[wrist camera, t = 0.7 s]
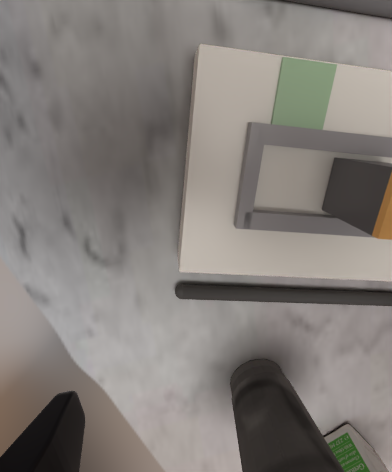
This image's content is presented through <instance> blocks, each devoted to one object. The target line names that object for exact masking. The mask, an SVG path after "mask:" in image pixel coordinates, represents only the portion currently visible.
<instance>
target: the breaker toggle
mask: <svg viewBox="0 0 392 472" xmlns="http://www.w3.org/2000/svg"><path fill="white" fill-rule="evenodd" d="M322 210H323V211H325V212H327V213H329V214H331V215H333V216H334V217H336V218H338V219H340V220H342V221H344V222H346V223H348V224H350V225H352V226H354V227H356V228H358V229H360V230H362V231H364V232H365V233H367V234H369V235H371V236H373V237H375V238H377V239H388V240H392V163H385V162H376V161H366V160H356V159H346V158H336V157H335V158H334V162H333V166H332V170H331V174H330V178H329V182H328V186H327V190H326V194H325V198H324V202H323V206H322Z"/></svg>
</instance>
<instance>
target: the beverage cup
mask: <svg viewBox="0 0 392 472" xmlns="http://www.w3.org/2000/svg"><path fill="white" fill-rule="evenodd" d="M230 385H231V391H232V404H233V411H234V418H235V424H236V431H237V438H238V444H239V451H240V457H241V464H242V471H243V472H345V471H344V470H343V468H342V466H341V465H340V463H339V462H338V460H337V458H336V457H335V455H334V453H333V452H332V450H331V448H330V447H329V445H328V444H327V442H326V440H325V439H324V437H323V435H322V434H321V432H320V431H319V429H318V427H317V426H316V424H315V422H314V421H313V419H312V418H311V416H310V414H309V413H308V411H307V409H306V408H305V406H304V404H303V403H302V401H301V400H300V398H299V396H298V395H297V393H296V391H295V390H294V388H293V387H292V385H291V383H290V382H289V380H288V379H287V378H286V377H285V375H284V374H283V373H282V371H281V369H280V367H279V366H278V365H277V364H275V363H274V362H272V361H269V360H263V359H257V360H252V361H249V362H247V363H245V364H243V365H241V366H240V367H239V368H238V369H237V370H236V371H235V372H234V374H233V375H232V377H231V382H230Z"/></svg>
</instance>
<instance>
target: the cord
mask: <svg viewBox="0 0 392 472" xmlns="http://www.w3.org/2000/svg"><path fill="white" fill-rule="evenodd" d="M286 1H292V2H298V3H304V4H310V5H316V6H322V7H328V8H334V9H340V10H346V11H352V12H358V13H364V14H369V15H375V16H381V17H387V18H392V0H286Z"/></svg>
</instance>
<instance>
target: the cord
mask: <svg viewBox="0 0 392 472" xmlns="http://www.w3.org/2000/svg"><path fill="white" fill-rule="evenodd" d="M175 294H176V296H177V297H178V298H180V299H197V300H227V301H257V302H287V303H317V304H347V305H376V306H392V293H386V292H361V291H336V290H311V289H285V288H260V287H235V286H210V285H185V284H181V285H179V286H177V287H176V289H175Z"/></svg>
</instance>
